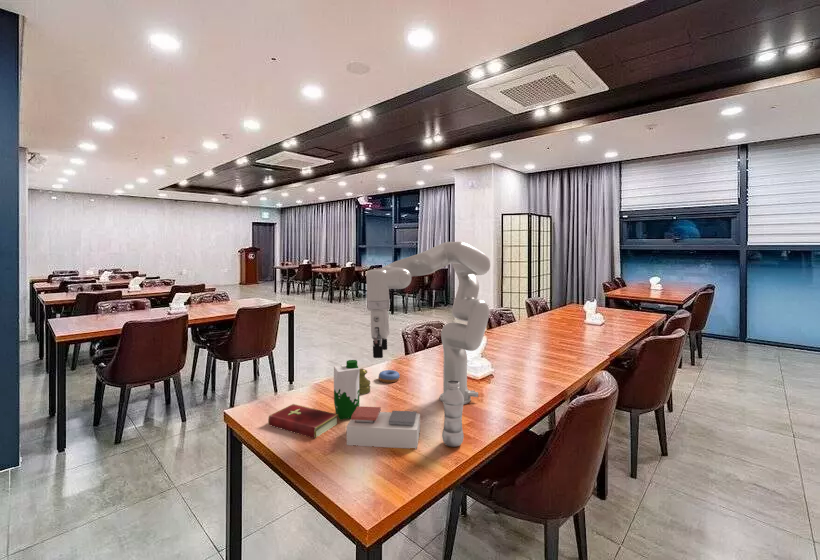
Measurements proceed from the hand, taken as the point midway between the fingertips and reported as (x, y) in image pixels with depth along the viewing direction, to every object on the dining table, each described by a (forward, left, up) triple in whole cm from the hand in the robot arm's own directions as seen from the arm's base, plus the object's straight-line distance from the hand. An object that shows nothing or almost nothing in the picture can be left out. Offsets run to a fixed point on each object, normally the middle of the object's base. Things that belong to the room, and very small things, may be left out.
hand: (380, 353), depth 134 cm
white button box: (-3, +11, -25) cm, 27 cm away
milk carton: (+14, -5, -25) cm, 29 cm away
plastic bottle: (-25, +13, -25) cm, 38 cm away
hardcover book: (+27, +4, -26) cm, 37 cm away
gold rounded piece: (+14, -29, -25) cm, 41 cm away
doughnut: (+5, -45, -25) cm, 52 cm away
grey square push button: (-9, +11, -24) cm, 28 cm away
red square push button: (+3, +11, -23) cm, 26 cm away
